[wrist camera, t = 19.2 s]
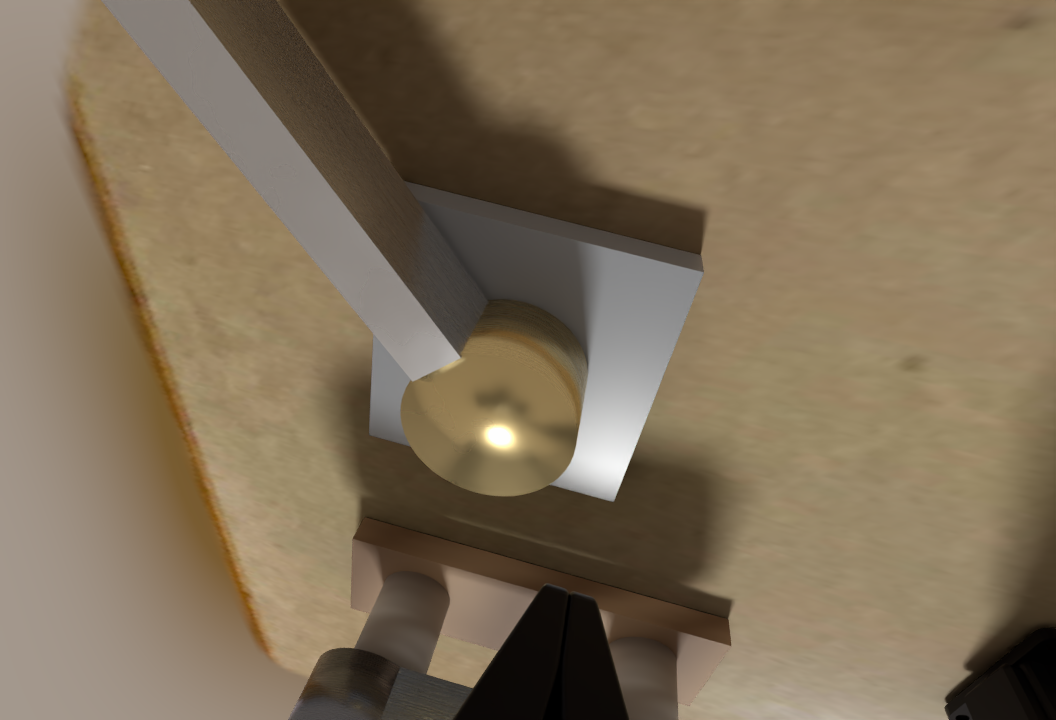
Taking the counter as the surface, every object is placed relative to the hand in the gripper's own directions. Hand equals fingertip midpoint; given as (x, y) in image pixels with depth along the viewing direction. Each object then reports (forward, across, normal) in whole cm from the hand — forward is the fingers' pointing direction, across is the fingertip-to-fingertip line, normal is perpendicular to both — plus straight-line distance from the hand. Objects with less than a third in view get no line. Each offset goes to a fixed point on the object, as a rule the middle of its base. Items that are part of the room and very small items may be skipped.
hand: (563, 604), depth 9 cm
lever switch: (+9, +6, -2) cm, 11 cm away
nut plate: (+10, +3, +2) cm, 11 cm away
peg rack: (+11, 0, +15) cm, 19 cm away
